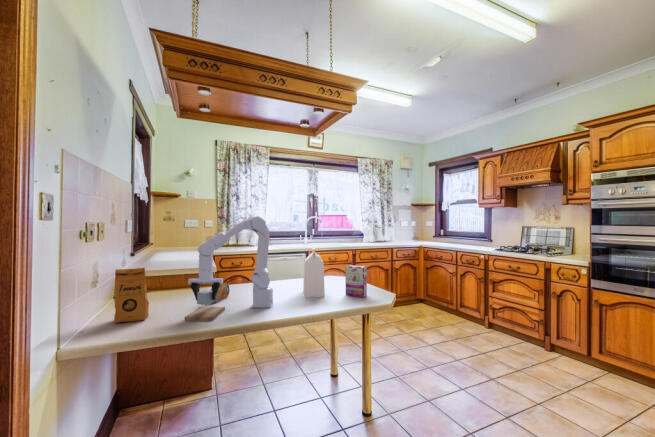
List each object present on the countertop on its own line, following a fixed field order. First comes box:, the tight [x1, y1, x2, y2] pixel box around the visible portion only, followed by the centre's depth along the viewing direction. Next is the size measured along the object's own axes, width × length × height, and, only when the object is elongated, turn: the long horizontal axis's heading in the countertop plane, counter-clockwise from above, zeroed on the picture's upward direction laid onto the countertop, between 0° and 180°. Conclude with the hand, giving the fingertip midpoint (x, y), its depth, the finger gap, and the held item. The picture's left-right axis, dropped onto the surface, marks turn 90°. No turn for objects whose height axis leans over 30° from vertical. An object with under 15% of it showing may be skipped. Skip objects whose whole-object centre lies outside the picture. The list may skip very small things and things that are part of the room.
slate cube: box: [196, 289, 215, 306], centre depth 128 cm, size 5×5×5 cm
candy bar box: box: [345, 264, 368, 298], centre depth 161 cm, size 11×5×16 cm, turn 61°
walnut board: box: [184, 306, 226, 322], centre depth 128 cm, size 12×14×2 cm
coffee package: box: [113, 267, 150, 323], centre depth 122 cm, size 10×12×22 cm
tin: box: [210, 282, 230, 303], centre depth 152 cm, size 15×3×8 cm, turn 168°
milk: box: [302, 247, 326, 298], centre depth 164 cm, size 12×12×26 cm
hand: (205, 299), depth 128 cm, fingers closed on slate cube, 7 cm apart
